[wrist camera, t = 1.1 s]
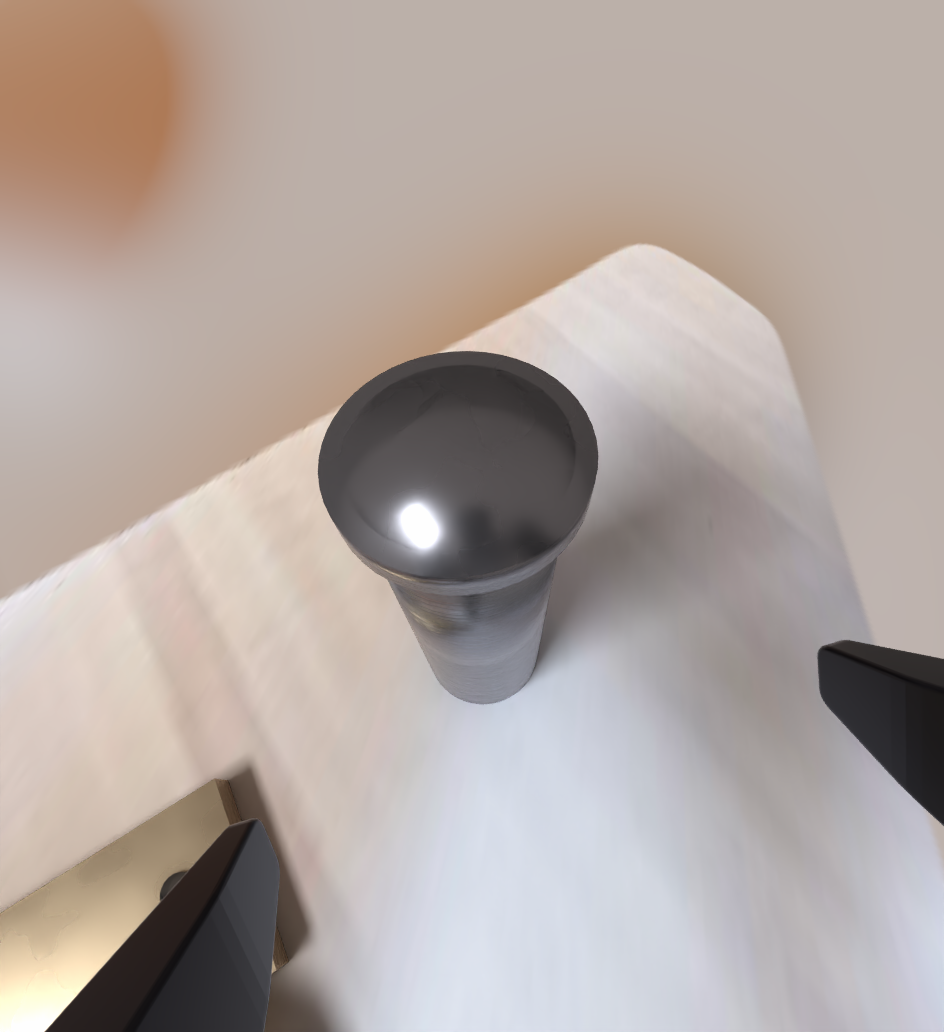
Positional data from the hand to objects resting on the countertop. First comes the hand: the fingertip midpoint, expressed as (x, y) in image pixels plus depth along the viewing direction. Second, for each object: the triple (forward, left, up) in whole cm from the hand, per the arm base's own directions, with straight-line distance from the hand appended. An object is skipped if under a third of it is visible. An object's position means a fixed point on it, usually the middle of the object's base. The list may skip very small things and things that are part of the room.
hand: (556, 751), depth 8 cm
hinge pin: (+5, -1, -12) cm, 13 cm away
